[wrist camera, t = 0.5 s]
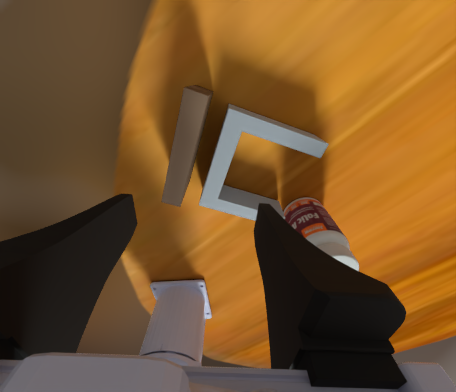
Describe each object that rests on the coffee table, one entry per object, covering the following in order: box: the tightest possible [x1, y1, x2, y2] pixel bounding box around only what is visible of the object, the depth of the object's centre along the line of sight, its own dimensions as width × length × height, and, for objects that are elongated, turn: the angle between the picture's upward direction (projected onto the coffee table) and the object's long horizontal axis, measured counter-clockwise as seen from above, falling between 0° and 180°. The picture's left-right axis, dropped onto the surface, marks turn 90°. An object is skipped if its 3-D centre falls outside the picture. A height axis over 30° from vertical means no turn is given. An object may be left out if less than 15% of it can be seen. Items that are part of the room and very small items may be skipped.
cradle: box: [199, 104, 329, 221], centre depth 19 cm, size 8×9×3 cm
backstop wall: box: [162, 85, 213, 207], centre depth 17 cm, size 2×9×5 cm, turn 162°
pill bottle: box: [283, 197, 359, 271], centre depth 20 cm, size 5×5×8 cm
